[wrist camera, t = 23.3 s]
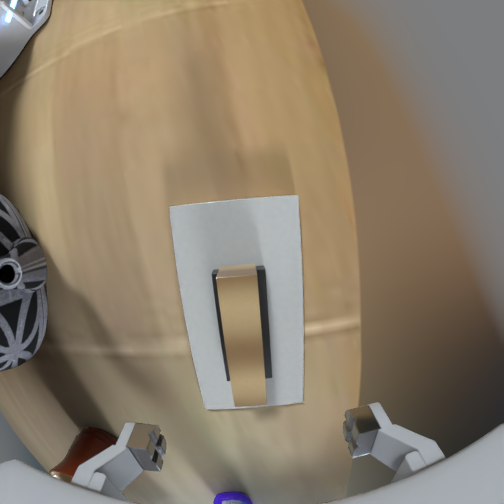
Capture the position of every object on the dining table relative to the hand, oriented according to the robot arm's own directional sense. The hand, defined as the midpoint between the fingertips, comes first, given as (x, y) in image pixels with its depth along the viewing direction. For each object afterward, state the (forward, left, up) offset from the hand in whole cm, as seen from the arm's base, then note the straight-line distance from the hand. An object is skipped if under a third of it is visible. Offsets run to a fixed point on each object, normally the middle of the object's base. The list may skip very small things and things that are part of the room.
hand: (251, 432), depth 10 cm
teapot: (-5, -26, -14) cm, 30 cm away
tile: (+1, 0, -14) cm, 14 cm away
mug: (+21, -23, -14) cm, 34 cm away
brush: (+1, 0, -13) cm, 13 cm away
